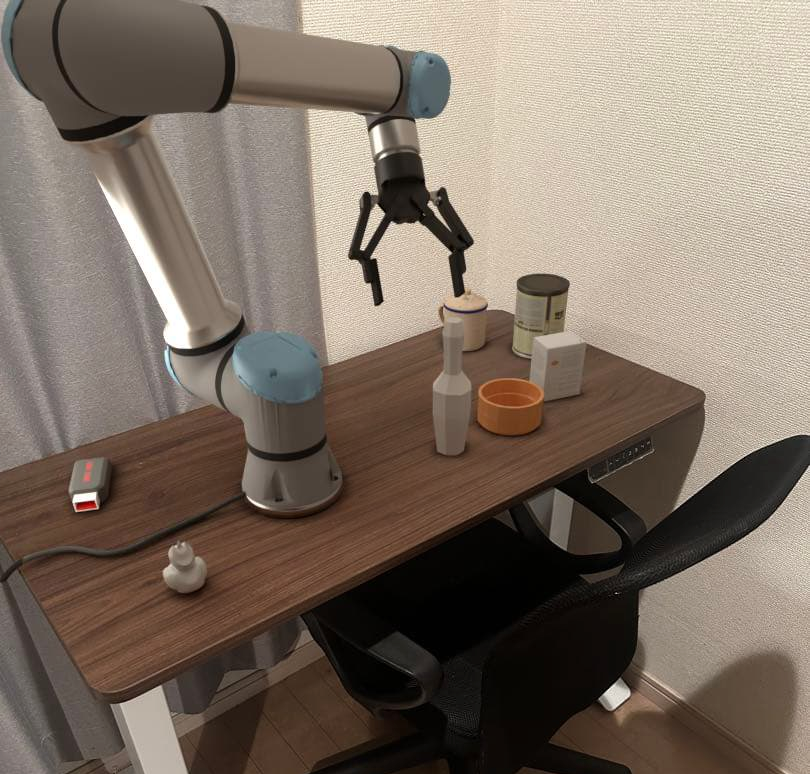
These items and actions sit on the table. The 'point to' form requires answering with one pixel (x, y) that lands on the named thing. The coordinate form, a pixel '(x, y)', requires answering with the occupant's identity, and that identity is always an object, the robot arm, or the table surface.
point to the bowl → (510, 406)
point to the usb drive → (90, 483)
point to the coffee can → (538, 309)
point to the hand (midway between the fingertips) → (420, 299)
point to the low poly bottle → (452, 393)
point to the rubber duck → (184, 569)
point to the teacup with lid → (467, 317)
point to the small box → (558, 364)
